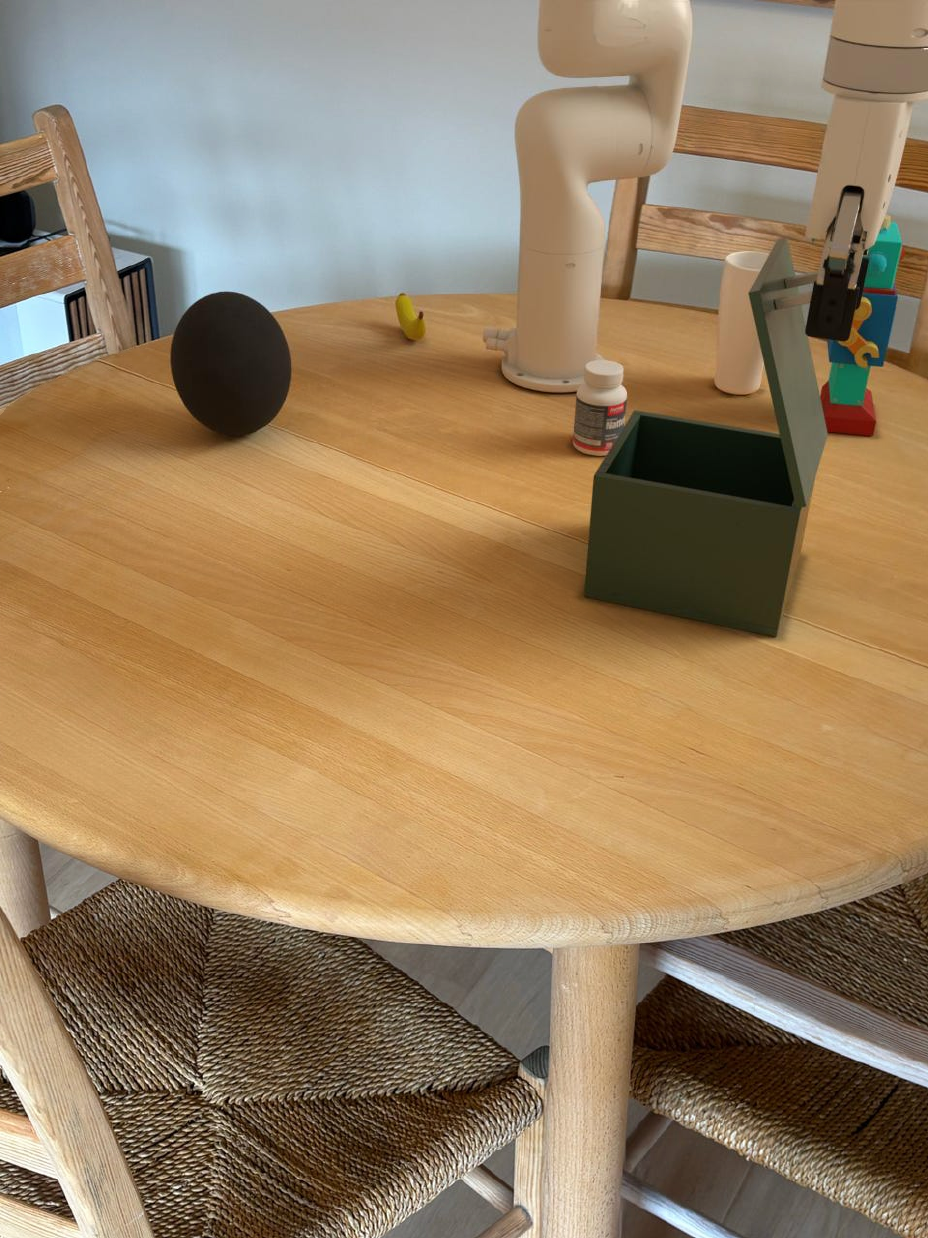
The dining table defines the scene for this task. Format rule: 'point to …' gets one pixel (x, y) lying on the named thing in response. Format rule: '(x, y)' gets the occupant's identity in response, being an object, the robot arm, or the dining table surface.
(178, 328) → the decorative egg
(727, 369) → the drinking glass
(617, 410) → the pill bottle
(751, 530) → the box
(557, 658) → the dining table surface
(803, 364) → the lid
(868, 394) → the toy robot
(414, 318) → the fruit
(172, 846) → the dining table surface
